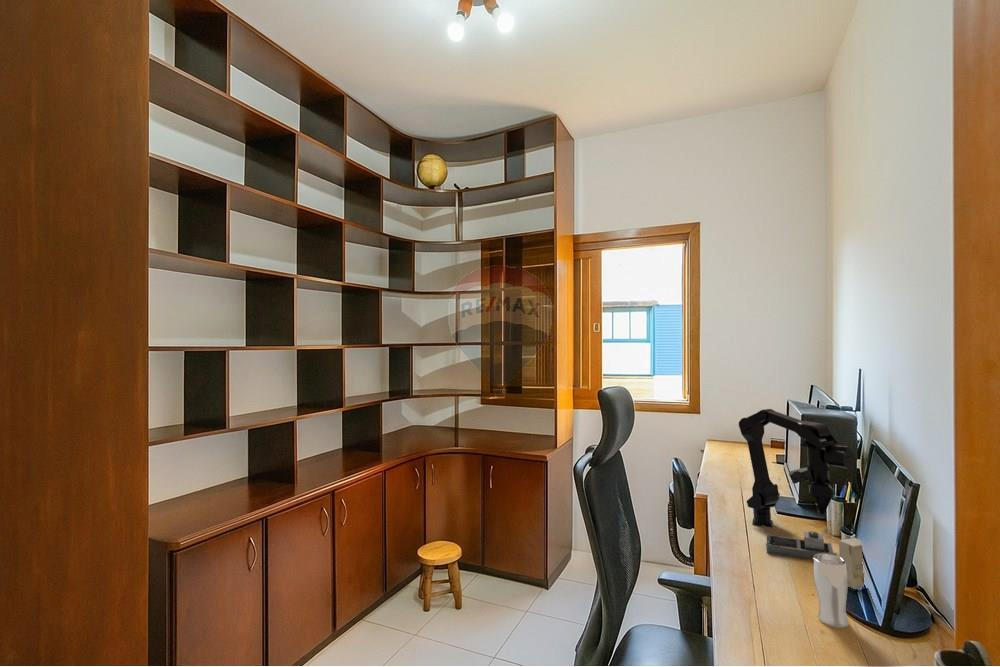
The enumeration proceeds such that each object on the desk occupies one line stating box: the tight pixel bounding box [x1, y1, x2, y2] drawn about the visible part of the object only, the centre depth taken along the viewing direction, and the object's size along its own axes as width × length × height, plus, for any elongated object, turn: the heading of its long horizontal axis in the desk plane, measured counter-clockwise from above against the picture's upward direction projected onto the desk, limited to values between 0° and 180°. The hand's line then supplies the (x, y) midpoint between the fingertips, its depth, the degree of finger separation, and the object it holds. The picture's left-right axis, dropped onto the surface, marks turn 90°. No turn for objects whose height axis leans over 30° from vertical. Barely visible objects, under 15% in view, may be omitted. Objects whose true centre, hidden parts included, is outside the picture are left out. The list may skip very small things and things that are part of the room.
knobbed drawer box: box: [803, 531, 825, 553], centre depth 152 cm, size 5×5×7 cm
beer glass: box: [812, 552, 850, 629], centre depth 117 cm, size 7×7×15 cm
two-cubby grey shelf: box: [765, 533, 834, 561], centre depth 154 cm, size 10×18×2 cm, turn 59°
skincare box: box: [838, 537, 864, 589], centre depth 132 cm, size 6×4×12 cm
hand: (821, 509), depth 158 cm, fingers open, 9 cm apart
